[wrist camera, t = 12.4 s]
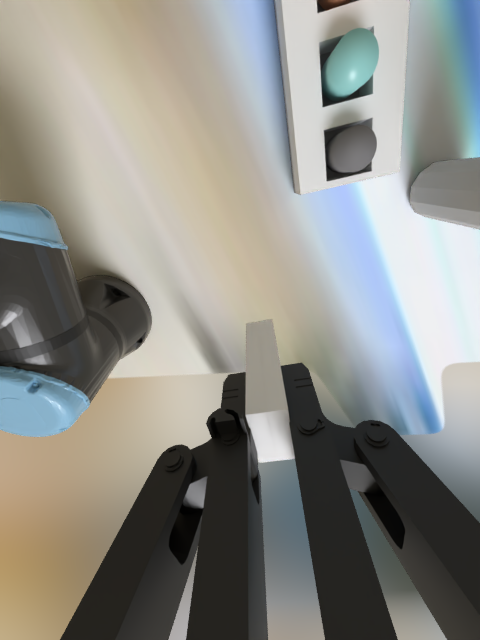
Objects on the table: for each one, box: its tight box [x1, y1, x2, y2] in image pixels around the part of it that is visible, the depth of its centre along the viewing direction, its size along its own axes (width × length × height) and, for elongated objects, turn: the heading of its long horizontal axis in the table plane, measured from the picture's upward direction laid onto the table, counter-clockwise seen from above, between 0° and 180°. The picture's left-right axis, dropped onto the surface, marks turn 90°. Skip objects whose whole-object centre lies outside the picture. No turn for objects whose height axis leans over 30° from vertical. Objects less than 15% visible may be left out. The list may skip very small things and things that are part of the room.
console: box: [274, 0, 410, 195], centre depth 30 cm, size 12×22×5 cm, turn 12°
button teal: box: [321, 28, 379, 101], centre depth 28 cm, size 4×4×5 cm
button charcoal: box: [325, 125, 377, 173], centre depth 31 cm, size 4×4×5 cm
